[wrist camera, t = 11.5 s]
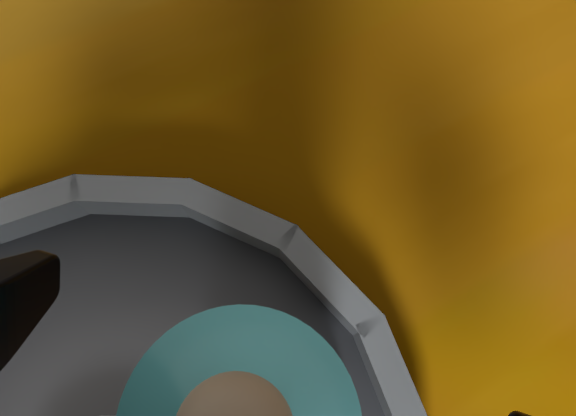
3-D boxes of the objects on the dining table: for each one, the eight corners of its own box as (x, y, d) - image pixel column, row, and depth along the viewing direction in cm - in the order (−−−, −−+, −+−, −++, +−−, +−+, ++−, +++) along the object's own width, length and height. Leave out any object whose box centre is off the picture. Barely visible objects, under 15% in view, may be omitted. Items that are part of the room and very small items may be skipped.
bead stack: (207, 511, 16) (54, 773, 5) (171, 348, 17) (1, 307, 7) (362, 458, 16) (496, 605, 6) (313, 304, 18) (351, 206, 7)
